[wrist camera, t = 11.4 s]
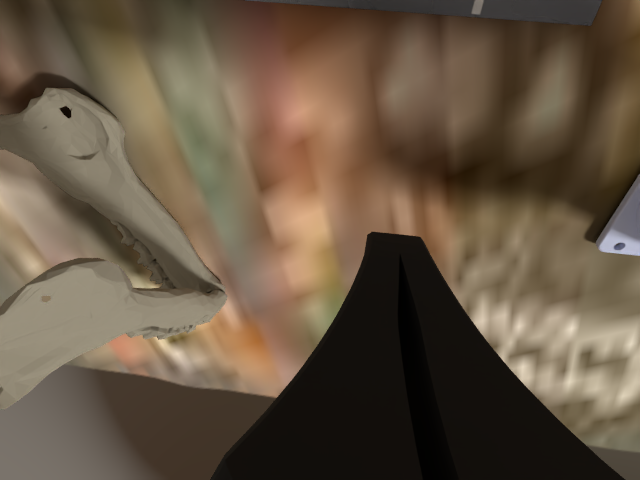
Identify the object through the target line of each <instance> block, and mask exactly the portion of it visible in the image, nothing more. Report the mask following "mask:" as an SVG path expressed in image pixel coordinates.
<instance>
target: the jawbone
mask: <svg viewBox="0 0 640 480" xmlns="http://www.w3.org/2000/svg"><path fill="white" fill-rule="evenodd" d="M64 106H67V107H68V108H69V109H72V111H71V117H70V118H69V119H68V118H67V117H66V116H65V115H63V113H62V112H61V110H60V109H59V108H61V107H64ZM124 136H125V131H124V129H123V127H122V125H121V124H120V122H119V121H118V119H117V118H116V117H115V116H114V115H113V114H111V113H110V112H109V111H108V110H107V109H105V108H104V107H103V106H102V105H100V104H98V103H96V102H95V101H93V100H92V99H90V98H89V97H87V96H85V95H82V94H80V93H79V92H77V91H76V90H75V89H73V88H46V89H45V91H44V93H43V95H42V97H38V98H34V99H31V100H30V102H29V105H28V107H27V108H26V109H25V110H23V111H22V112H21V113H18V114H9V115H0V149H5V150H8V151H10V152H12V153H14V154H16V155H18V156H20V157H22V158H24V159H26V160H28V161H30V162H32V163H33V164H34V165H35V166H36V167H37V168H38V169H39V170H40V171H41V172H42V173H43V174H44V175H45V176H46V177H47V178H48V179H50V180H51V181H52V182H53V183H54V184H56V185H57V186H58V187H60V188H61V189H62V190H63V191H65V192H66V193H68V194H69V195H71V196H72V197H74V198H75V199H78V200H81V201H83V202H86V203H88V204H90V205H91V206H92V207H93V208H95V209H96V210H97V211H98V212H99V213H101V214H102V215H104V216H105V217H106V218H108V219H110V221H111V223H112V224H113V225H117V229H118V230H119V231H120V232H121V233H122V235H123V239H122V240H121V242H120V243H124V244H127V246H129V245H132V244H134V248H133V250H135V251H137V252H139V254H140V258H139V259H138V261H137V263H138V264H143V266H144V267H145V266H148V267H147V268H146V269H148V270H150V271H153V273H152V275H151V277H150V278H149V279H150V281H156V284H160V283H163V284H162V286H161V287H160V288H152V289H146V288H132V284H131V281H130V279H129V278H128V276H127V274H126V273H125V272H124V271H123V269H122V268H121V267H120V266H119V265H118V264H115V263H112V262H110V261H107V260H103V259H99V258H77V259H73V260H70V261H67V262H63V263H60V264H58V265H56V266H54V267H52V268H50V269H49V270H47V271H45V272H44V273H42V274H41V275H39V276H38V277H37V278H35V279H34V280H32V281H31V282H29V283H28V284H26V285H25V286H23V287H22V288H21V289H20V290H18V291H17V292H16V293H14V294H13V295H12V296H11V297H9V298H8V299H7V300H5V302H4V303H3V304H2V306H1V307H0V386H1V388H0V410H4V409H6V408H8V407H9V406H11V405H12V404H14V403H15V402H17V401H18V400H20V399H21V398H22V397H23V396H25V395H26V394H27V393H28V392H29V391H31V390H32V389H33V388H34V387H35V386H36V385H37V384H38V383H39V382H41V381H42V380H43V379H44V378H45V377H46V376H47V375H48V374H50V373H51V372H53V371H54V370H56V369H57V368H59V367H60V366H62V365H63V364H65V363H67V362H69V361H70V360H72V359H74V358H76V357H78V356H79V355H81V354H83V353H85V352H88V351H91V350H93V349H96V348H99V347H101V346H103V345H104V344H106V343H108V342H109V341H111V340H113V339H115V338H117V337H119V336H121V335H123V334H125V333H126V334H127V335H128V336H129V337H131V338H132V337H135V336H139V335H143V338H144V339H149V338H152V337H156V336H157V338H158V340H159V339H165V338H167V337H169V336H171V335H178V334H179V333H182V332H185V331H187V333H189V332H191V331H193V330H195V327H196V325H201V324H203V323H207V322H210V321H211V319H212V318H213V317H214V316H215V315H216V313H217V312H218V311H220V310H221V308H222V307H223V306H224V304H225V302H226V299H227V295H226V294H225V286H224V285H223V284H222V283H221V282H220V281H219V280H218V279H217V278H216V277H215V276H214V275H213V274H212V273H211V272H210V271H209V269H208V268H207V267H206V266H205V265H204V263H203V262H202V260H201V259H200V257H199V256H198V254H197V253H196V251H195V250H194V248H193V246H192V244H191V243H190V241H189V239H188V238H187V236H186V235H185V233H184V232H183V230H182V229H181V227H180V226H179V224H178V223H177V222H176V221H175V220H174V219H173V218H172V216H171V215H170V214H169V213H168V211H167V210H166V209H165V208H164V207H163V206H162V204H161V203H160V202H159V201H158V200H157V199H156V198H155V196H154V195H153V194H152V193H151V192H150V191H149V190H148V189H147V188H146V186H145V185H144V184H143V183H142V182H141V181H140V180H139V178H138V177H137V176H136V175H135V173H134V171H133V169H132V167H131V165H130V163H129V161H128V158H127V156H126V153H125V150H124ZM41 296H51V300H50V301H48V302H42V299H41Z"/></svg>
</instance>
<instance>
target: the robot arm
mask: <svg viewBox="0 0 640 480" xmlns="http://www.w3.org/2000/svg"><path fill="white" fill-rule="evenodd" d="M618 243H620V244H618ZM616 244H618V245H616ZM596 246H597V247H598V249H599V250H600V251H602V252H609V253H618V254H628V255H638V256H640V174H639V175H638V177H637V179H636V180H635V182H634V183H633V185H632V186H631V188H630V189H629V191H628V193H627V194H626V196H625V197H624V199H623V200H622V202H621V203H620V205H619V206H618V208H617V210H616V211H615V213H614V214H613V216H612V217H611V219H610V220H609V222H608V224H607V225H606V227H605V228H604V230H603V231H602V233H601V234H600V236H599V238H598V239H597V241H596ZM210 480H625V479H624V478H622V477H621V476H620V475H619V474H618V473H617V472H615V471H614V470H613V469H612V468H611V467H609V466H608V465H607V464H606V463H605V462H604V461H602V460H601V459H600V458H599V457H598V456H597V455H596V454H595V453H594V452H593V451H592V450H590V449H589V448H588V447H587V446H586V445H585V444H584V443H583V442H582V441H581V440H579V439H578V438H577V437H576V436H575V435H574V434H573V433H572V432H571V431H570V430H569V429H568V428H566V427H565V426H564V425H563V424H562V423H561V422H560V421H559V420H558V419H557V418H556V417H555V416H554V415H553V414H552V413H551V412H550V411H549V410H548V409H547V408H546V407H545V406H544V405H543V404H542V403H541V402H540V401H539V400H538V399H537V398H536V397H535V396H534V394H533V393H532V392H531V391H530V390H529V389H528V388H527V387H526V386H525V385H524V384H523V383H522V382H521V381H520V380H519V379H518V378H517V376H516V375H515V374H514V373H513V372H512V371H511V370H510V369H509V367H508V366H507V365H506V364H505V363H504V362H503V360H502V359H501V358H500V357H499V356H498V354H497V353H496V352H495V351H494V350H493V348H492V347H491V346H490V345H489V343H488V342H487V341H486V339H485V338H484V337H483V335H482V334H481V333H480V332H479V330H478V329H477V327H476V326H475V325H474V323H473V322H472V321H471V319H470V318H469V316H468V315H467V314H466V312H465V311H464V309H463V308H462V306H461V305H460V303H459V302H458V300H457V299H456V297H455V295H454V294H453V292H452V291H451V289H450V288H449V286H448V284H447V283H446V281H445V280H444V278H443V276H442V274H441V273H440V271H439V269H438V268H437V266H436V264H435V262H434V260H433V259H432V257H431V255H430V253H429V251H428V249H427V247H426V245H425V243H424V241H423V240H422V239H421V237H418V236H408V235H399V234H389V233H380V232H371V233H370V234H368V235H367V241H366V247H365V253H364V257H363V260H362V263H361V266H360V268H359V271H358V273H357V275H356V278H355V280H354V282H353V285H352V287H351V289H350V291H349V293H348V295H347V297H346V299H345V301H344V302H343V304H342V306H341V308H340V310H339V312H338V314H337V315H336V317H335V319H334V320H333V322H332V324H331V325H330V327H329V329H328V330H327V332H326V333H325V335H324V336H323V338H322V339H321V341H320V342H319V344H318V345H317V347H316V348H315V350H314V351H313V352H312V354H311V355H310V357H309V358H308V359H307V361H306V362H305V364H304V365H303V366H302V368H301V369H300V370H299V372H298V373H297V374H296V375H295V377H294V378H293V379H292V380H291V382H290V383H289V384H288V385H287V386H286V388H285V389H284V390H283V391H282V392H281V394H280V395H279V396H278V397H277V398H276V400H275V401H274V402H273V403H272V404H271V406H270V407H269V408H268V409H267V410H266V411H265V413H264V414H263V415H262V416H261V417H260V418H259V419H258V420H257V421H256V422H255V424H253V426H251V428H250V429H249V430H248V431H247V432H246V433H245V434H244V435H243V436H242V437H241V438H240V439H239V440H238V441H237V442H236V443H235V444H234V445H233V446H232V448H231V449H230V450H229V451H228V452H227V453H226V454H225V455H224V457H223V459H222V461H221V462H220V464H219V465H218V467H217V469H216V471H215V472H214V474H213V476H212V477H211V479H210Z"/></svg>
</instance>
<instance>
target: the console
mask: <svg viewBox="0 0 640 480" xmlns="http://www.w3.org/2000/svg"><path fill="white" fill-rule="evenodd" d="M247 1H261V2H275V3H288V4H302V5H316V6H329V7H343V8H356V9H370V10H384V11H397V12H411V13H425V14H438V15H452V16H465V17H479V18H493V19H506V20H520V21H534V22H547V23H561V24H574V25H588V26H591V25H592V23H593V20H594V18H595V16H596V14H597V11H598V9H599V7H600V4H601V2H602V0H247Z"/></svg>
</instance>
